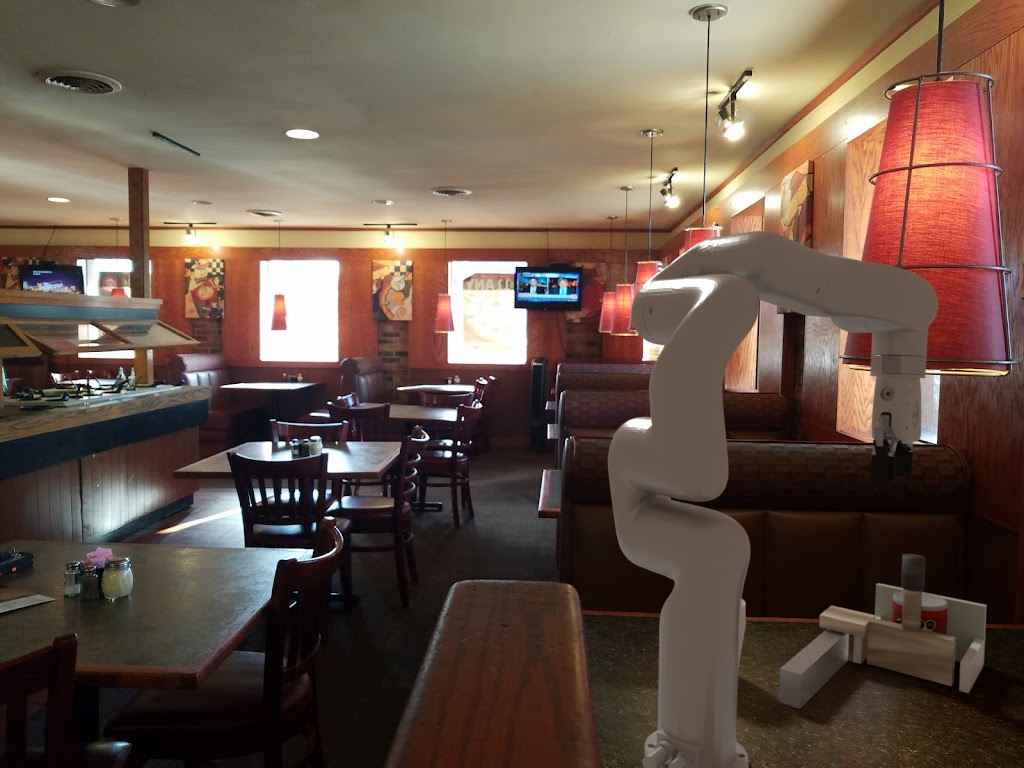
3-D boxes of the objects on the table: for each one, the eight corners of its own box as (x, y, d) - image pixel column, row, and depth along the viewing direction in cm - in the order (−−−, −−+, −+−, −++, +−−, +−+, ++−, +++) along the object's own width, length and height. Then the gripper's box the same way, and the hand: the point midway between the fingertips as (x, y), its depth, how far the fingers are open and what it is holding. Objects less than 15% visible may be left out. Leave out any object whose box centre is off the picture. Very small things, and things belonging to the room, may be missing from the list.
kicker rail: (799, 708, 106) (800, 674, 106) (778, 702, 108) (780, 668, 108) (847, 660, 123) (849, 630, 123) (829, 655, 125) (830, 626, 125)
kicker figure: (948, 690, 111) (953, 568, 110) (818, 655, 124) (822, 545, 123) (956, 677, 116) (961, 560, 115) (830, 644, 128) (833, 538, 127)
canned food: (879, 659, 123) (882, 594, 123) (913, 652, 127) (915, 588, 126) (921, 678, 116) (924, 609, 116) (956, 670, 120) (959, 602, 119)
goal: (968, 693, 112) (971, 627, 111) (853, 661, 122) (855, 602, 122) (983, 665, 122) (986, 604, 121) (875, 638, 132) (877, 583, 132)
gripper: (910, 368, 105) (903, 489, 106) (938, 369, 118) (932, 476, 119) (854, 366, 110) (848, 481, 110) (887, 367, 123) (881, 470, 123)
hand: (891, 479), depth 115 cm, fingers open, 9 cm apart
